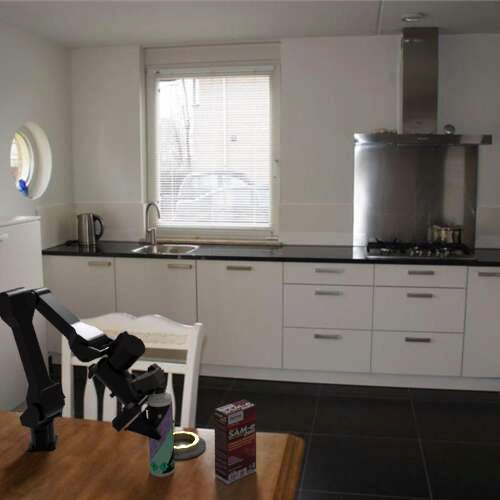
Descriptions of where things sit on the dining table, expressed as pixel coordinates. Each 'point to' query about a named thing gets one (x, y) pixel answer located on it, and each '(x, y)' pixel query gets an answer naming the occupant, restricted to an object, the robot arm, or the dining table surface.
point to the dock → (184, 443)
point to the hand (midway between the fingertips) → (166, 431)
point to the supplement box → (235, 441)
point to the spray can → (161, 433)
